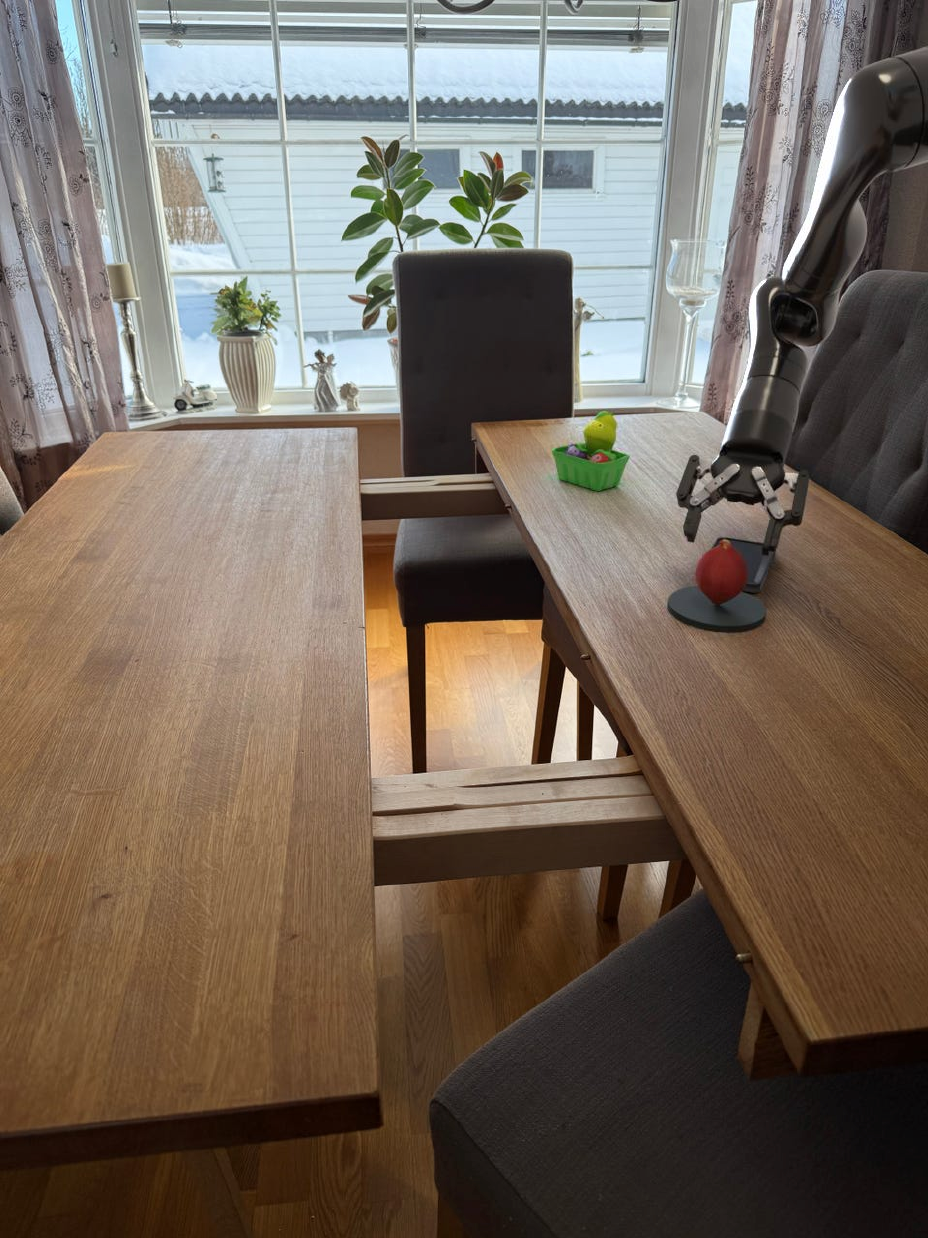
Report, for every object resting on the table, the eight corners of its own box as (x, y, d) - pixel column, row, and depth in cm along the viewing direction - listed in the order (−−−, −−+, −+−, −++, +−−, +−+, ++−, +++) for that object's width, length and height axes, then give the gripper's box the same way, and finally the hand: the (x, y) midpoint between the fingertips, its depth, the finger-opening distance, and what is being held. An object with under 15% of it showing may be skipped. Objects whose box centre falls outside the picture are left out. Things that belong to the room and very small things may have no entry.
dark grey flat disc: (763, 597, 106) (764, 591, 106) (767, 637, 96) (768, 631, 96) (669, 587, 108) (670, 581, 108) (664, 625, 99) (665, 618, 98)
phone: (777, 545, 118) (760, 585, 106) (776, 553, 119) (759, 594, 106) (717, 535, 121) (694, 573, 109) (716, 543, 122) (693, 582, 109)
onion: (699, 589, 106) (708, 526, 102) (748, 600, 103) (759, 535, 100) (684, 607, 101) (693, 542, 98) (735, 619, 99) (745, 552, 95)
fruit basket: (547, 478, 148) (550, 411, 143) (583, 469, 153) (587, 403, 149) (598, 495, 141) (604, 424, 136) (634, 484, 146) (641, 416, 141)
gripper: (698, 400, 105) (662, 521, 101) (825, 414, 99) (792, 542, 95) (703, 434, 112) (669, 549, 107) (822, 449, 106) (791, 570, 102)
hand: (727, 546), depth 101 cm, fingers open, 8 cm apart
